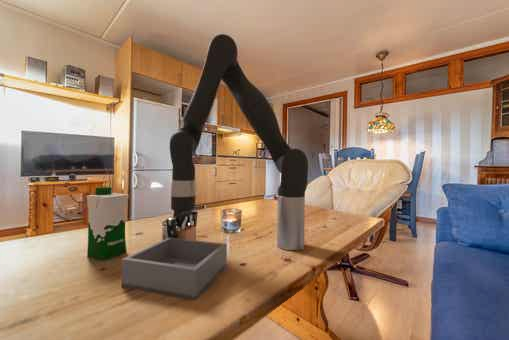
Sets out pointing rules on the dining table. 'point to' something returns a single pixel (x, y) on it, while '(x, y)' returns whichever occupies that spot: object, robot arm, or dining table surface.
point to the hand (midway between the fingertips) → (182, 246)
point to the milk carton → (106, 224)
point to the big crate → (175, 267)
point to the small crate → (188, 233)
